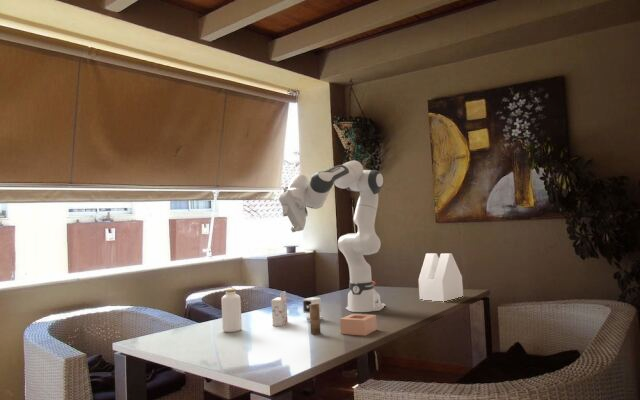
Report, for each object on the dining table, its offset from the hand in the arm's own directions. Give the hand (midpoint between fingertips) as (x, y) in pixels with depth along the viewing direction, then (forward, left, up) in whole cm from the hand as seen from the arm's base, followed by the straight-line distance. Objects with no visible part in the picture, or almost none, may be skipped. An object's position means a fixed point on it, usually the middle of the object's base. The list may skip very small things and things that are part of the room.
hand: (289, 223), depth 206 cm
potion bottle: (+4, -31, -46) cm, 56 cm away
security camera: (-27, -8, -46) cm, 54 cm away
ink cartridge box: (-14, -18, -46) cm, 51 cm away
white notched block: (-97, +32, -46) cm, 112 cm away
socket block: (-11, +24, -46) cm, 53 cm away
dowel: (-3, +8, -46) cm, 47 cm away
